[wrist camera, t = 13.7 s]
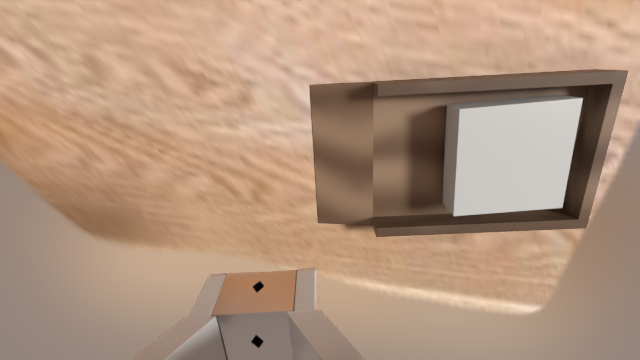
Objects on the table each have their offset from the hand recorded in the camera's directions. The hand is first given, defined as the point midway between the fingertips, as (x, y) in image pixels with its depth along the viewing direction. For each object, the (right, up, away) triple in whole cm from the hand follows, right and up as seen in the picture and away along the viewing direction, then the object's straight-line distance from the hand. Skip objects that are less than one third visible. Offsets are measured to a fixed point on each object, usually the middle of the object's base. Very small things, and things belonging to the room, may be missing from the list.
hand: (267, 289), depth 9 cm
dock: (+15, +6, +24) cm, 29 cm away
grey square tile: (+19, +6, +23) cm, 30 cm away
